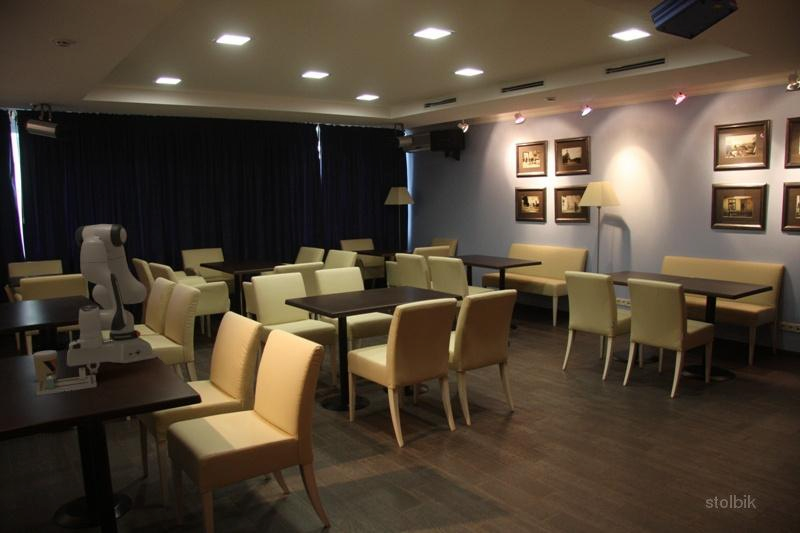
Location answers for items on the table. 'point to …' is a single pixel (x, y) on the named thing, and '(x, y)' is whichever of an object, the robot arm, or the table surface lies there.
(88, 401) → the table surface
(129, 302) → the robot arm
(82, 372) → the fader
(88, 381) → the console
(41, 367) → the coffee cup
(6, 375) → the table surface
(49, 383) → the fader
